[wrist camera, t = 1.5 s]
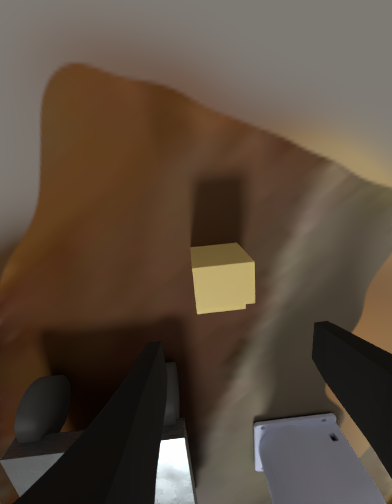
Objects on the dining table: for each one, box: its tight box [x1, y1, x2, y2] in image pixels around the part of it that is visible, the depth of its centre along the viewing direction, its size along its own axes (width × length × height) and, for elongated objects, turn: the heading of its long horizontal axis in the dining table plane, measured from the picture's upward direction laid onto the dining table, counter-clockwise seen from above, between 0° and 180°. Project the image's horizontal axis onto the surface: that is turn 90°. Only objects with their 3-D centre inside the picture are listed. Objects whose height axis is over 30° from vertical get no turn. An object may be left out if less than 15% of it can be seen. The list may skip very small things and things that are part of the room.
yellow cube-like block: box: [190, 243, 255, 314], centre depth 17 cm, size 4×5×5 cm
